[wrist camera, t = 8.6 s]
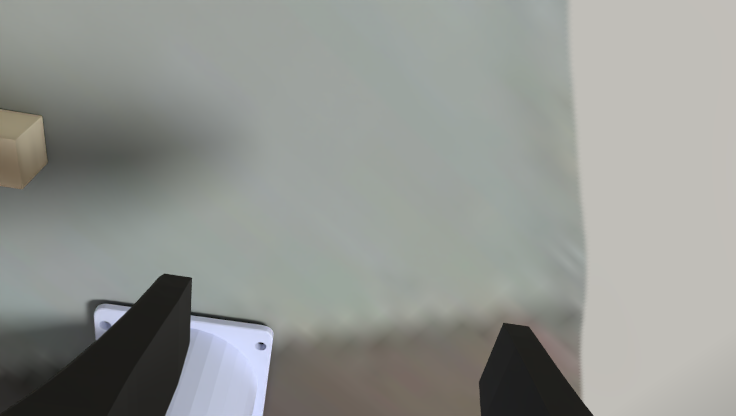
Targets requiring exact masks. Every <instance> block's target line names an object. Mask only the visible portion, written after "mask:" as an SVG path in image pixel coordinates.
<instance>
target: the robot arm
mask: <svg viewBox="0 0 736 416" xmlns="http://www.w3.org/2000/svg"><path fill="white" fill-rule="evenodd" d="M191 290H192V278H190V277H183V276H177V275H170V274H163V275H161V276H160V277H159V278H158V279H157V280H156V281H155V282H154V283H153V284H152V286H151V287H150V288H149V289H148V290H147V291H146V292H145V293H144V294H143V295H142V296H141V298H140V299H139V300H138V301H137V302H136V303H135V304H134V305H133V306H132V307H127V306H120V305H113V304H101V305H99V306H98V307H97V308H96V310H95V311H94V326H95V337H96V341H95V342H94V343H93V344H92V345H91V346H90V347H88V348H87V349H86V350H85V351H84V352H83V353H81V354H80V355H79V356H78V357H77V358H76V359H74V360H73V361H72V362H71V363H70V364H68V365H67V366H66V367H65V368H63V369H62V370H61V371H60V372H58V373H57V374H56V375H55V376H53V377H52V378H51V379H49V380H48V381H47V382H45V383H44V384H43V385H41V386H40V387H39V388H37V389H36V390H35V391H33V392H32V393H30V394H29V395H28V396H26V397H25V398H23V399H22V400H20V401H19V402H17V403H16V404H14V405H13V406H11V407H10V408H8V409H7V410H5V411H4V412H2V413H1V414H0V416H263V410H264V402H265V395H266V387H267V380H268V372H269V365H270V357H271V350H272V342H273V331H272V329H271V328H269V327H268V326H264V325H258V324H250V323H243V322H236V321H229V320H221V319H214V318H207V317H200V316H192V315H191ZM104 321H106V322H109V323H110V324H109V323H106V322H104ZM258 342H262V343H264V344H259V343H258ZM479 389H480V406H481V416H593V414H592V413H591V412H590V411H589V409H588V408H587V407H586V406H585V404H584V403H583V402H582V400H581V399H580V398H579V396H578V395H577V394H576V392H575V391H574V390H573V388H572V387H571V386H570V384H569V383H568V381H567V380H566V379H565V377H564V376H563V375H562V373H561V372H560V370H559V369H558V368H557V366H556V365H555V363H554V362H553V360H552V359H551V358H550V356H549V355H548V353H547V352H546V350H545V349H544V348H543V346H542V345H541V343H540V342H539V340H538V339H537V337H536V336H535V335H534V333H533V332H532V330H531V329H530V328H529V327H528V326H522V325H515V324H508V323H503V325H502V328H501V330H500V333H499V335H498V337H497V340H496V342H495V345H494V347H493V350H492V352H491V354H490V357H489V359H488V362H487V364H486V366H485V369H484V371H483V374H482V376H481V379H480V381H479Z"/></svg>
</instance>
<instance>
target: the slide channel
mask: <svg viewBox="0 0 736 416" xmlns="http://www.w3.org/2000/svg"><path fill="white" fill-rule="evenodd" d="M47 163H48V161H47V152H46V144H45V136H44V127H43V119H42V116H39V115H33V114H27V113H21V112H15V111H9V110H3V109H0V186H4V187H10V188H17V189H23V188H24V187H25V186H26V185H27V184H28V183H29V182H30V181H31V180H32V179H33V178H34V177H35V176H36V175H37V174H38V173H39V171H40V170H41V169H42V168H43V167H44V166H45V165H46V164H47Z"/></svg>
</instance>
